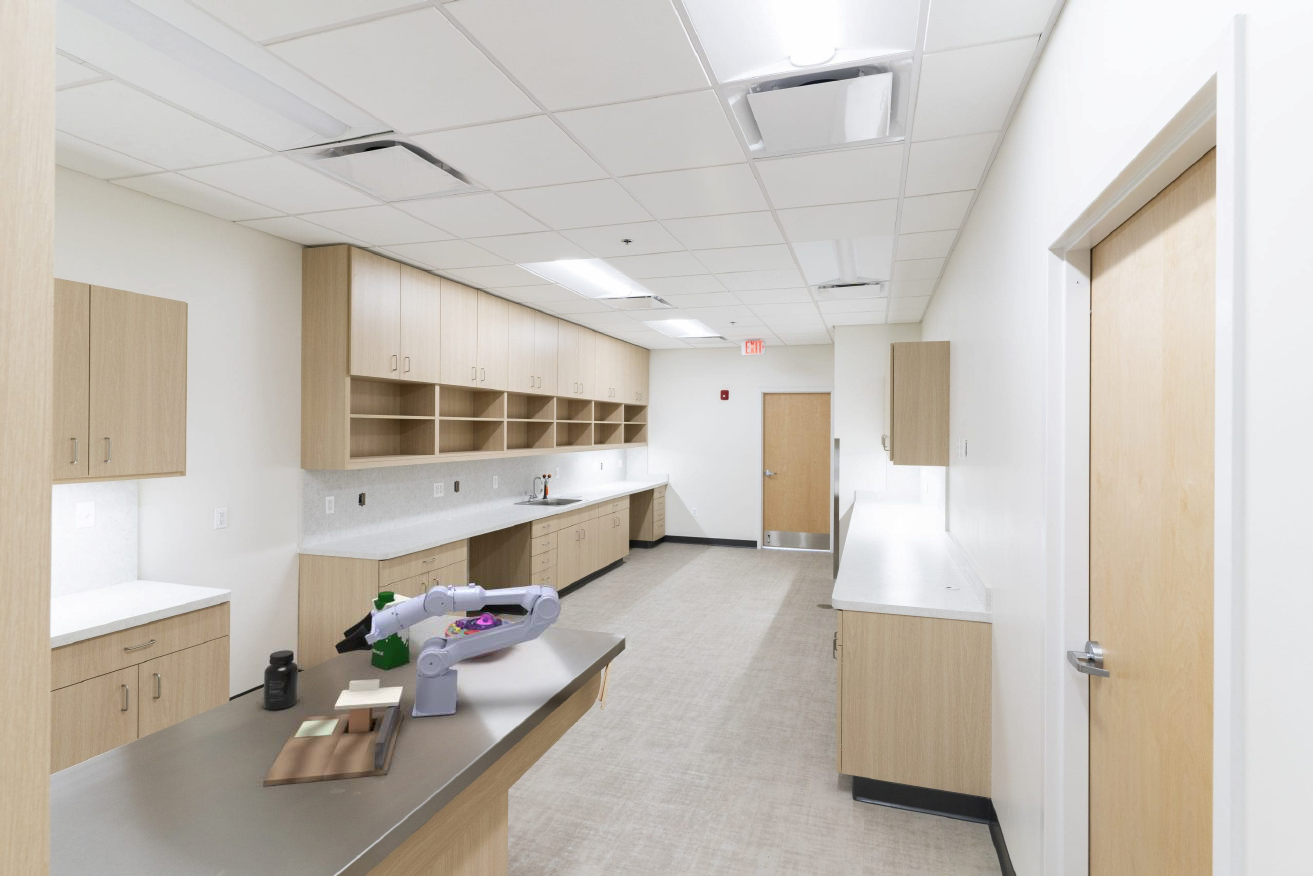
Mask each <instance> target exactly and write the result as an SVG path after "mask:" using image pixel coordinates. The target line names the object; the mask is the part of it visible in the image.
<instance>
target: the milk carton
mask: <svg viewBox="0 0 1313 876" xmlns="http://www.w3.org/2000/svg"><path fill="white" fill-rule="evenodd" d="M410 599H412V598H411V597H408V596H404V595H401V594H398V593H396V594H395V592H394V591H391V590H387V591H386V590H385V591H380V592H378V594H377V597H376V598H374V599H371V605H372V610H374V609H375V610H376V612H377V613H380V612H382V611H385V610H387V609H389V608H391V607H394V606H396V605H398V604H400V603H403V602H405V601H407V600H410ZM410 627H411V626H409V627H407V628H405V629H403V630H400V631H398V632H396V633H394V634H392V635H389V636H387V637H386V638H385V639H381V640H378V641H376V642H374V643H372V645H373V648H372V651H371V653H372V654H371V660H370V661H371V662H370V664H371V665H372V666H375V667H378V668H380V669H382V670H385V671H389V670H392V669H395V668H397V667H401V666H404V665H406V664H409V663H410Z"/></svg>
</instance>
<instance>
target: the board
mask: <svg viewBox="0 0 1313 876" xmlns="http://www.w3.org/2000/svg"><path fill="white" fill-rule="evenodd" d="M403 716H404V710H403V709H402V710H401V701H400V702H399V705H398V706H386V709H385V711H376V712H373V711H372V724H374V723H375V725H374V727H373V731H372V730H370V731H368V732H355V733H349V732H347V733H346V731H347V728H348V727H349V713H348V714H347V713H346V714H332V715H320V716H319V715H317V716H306V717H305V716H304V717H301V718H300V719H299V722H298V723H297V725H296V726H295V728H294V729H293V732H292V733H291V735H290V736H289V738H288V740H287V741H286V743H285V745H284V746H283V748H282V749H281V752H280V753H279V755H278V756H277V758H276V760H275V761H274V763H273V765H272V766H271V768H270V769H269V771H268V773H267V774H266V776H265V778H264V779H263V783H262V785H263V787H267V786H278V785H289V784H300V783H309V782H323V781H331V780H342V779H354V778H363V777H372V776H373V777H374V776H375V777H376V776H383V775H387V774H388V771H389V767H390V763H391V760H392V756H393V753H394V749H395V746H396V741H397V738H398V735H399V732H400V728H401V723H402V720H403Z"/></svg>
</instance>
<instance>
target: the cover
mask: <svg viewBox="0 0 1313 876" xmlns="http://www.w3.org/2000/svg"><path fill="white" fill-rule="evenodd" d="M380 682H381V681H380V678H377V679H376V678H375V679H359V680H350V681H349V683H348V685H349V686H348V687H349V688H348V689H343V690H342V691H341V693H340V694H339V697H338V699H337V701H336V703H335V705H334V707H333V708H334V711H339V710H340V711H341V710H342V711H343V710H349V709H357V708H371V707H373V708H382V707H387V706H398V705H399V702H400V703H401V698H402V695H403V691H404V686H389V687H380Z"/></svg>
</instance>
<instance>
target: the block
mask: <svg viewBox="0 0 1313 876" xmlns="http://www.w3.org/2000/svg"><path fill="white" fill-rule="evenodd" d="M373 709H374V707H371V708H357V709H348V711H349V712H348V714H349V725H348V733H355V732H368V731H371V730H372V729H371V728H372V726H373V723H372V713H373Z"/></svg>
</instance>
